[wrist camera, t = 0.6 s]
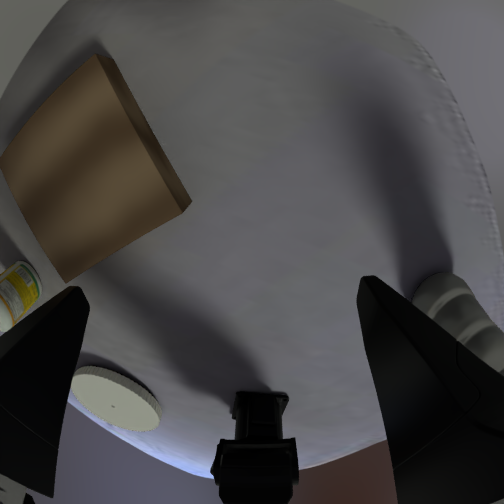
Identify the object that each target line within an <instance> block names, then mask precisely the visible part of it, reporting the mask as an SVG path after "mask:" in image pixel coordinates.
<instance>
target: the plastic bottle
mask: <svg viewBox="0 0 504 504" xmlns="http://www.w3.org/2000/svg"><path fill="white" fill-rule="evenodd" d="M412 304H413V305H415V306H416V307H417V308H419V309H420V310H421V311H422V312H424V313H425V314H426V315H427V316H429V317H430V318H431V319H432V320H434V321H435V322H436V323H437V324H439V325H440V326H441V327H442V328H444V329H445V330H446V331H447V332H448V333H450V334H451V335H452V336H453V337H454V338H456V340H457V341H459V342H461V343H462V344H463V345H464V346H465V347H467V348H468V349H469V350H470V351H471V352H473V353H474V354H475V355H476V356H478V357H479V358H480V359H481V360H483V361H484V362H485V363H487V364H488V365H489V366H491V367H492V368H493V369H495V370H496V371H497V372H499V373H500V374H502V375H503V376H504V333H503V332H502V330H501V329H500V328H498V327H497V325H496V324H495V323H494V322H493V321H492V320H491V319H490V317H489V316H488V315H487V313H486V312H485V310H484V309H483V308H482V306H481V305H480V304H479V302H478V301H477V300H476V298H475V296H474V294H473V292H472V290H471V289H470V288H469V286H468V285H467V283H466V282H465V281H464V280H463V279H462V278H460V277H458V276H457V275H455V274H453V273H450V272H443V273H437V274H434V275H432V276H430V277H429V278H427V279H426V280H425V281H424V282H422V284H421V285H420V286H419V287H418V289H417V290H416V292H415V294H414V296H413V300H412Z"/></svg>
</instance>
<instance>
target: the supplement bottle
mask: <svg viewBox="0 0 504 504" xmlns="http://www.w3.org/2000/svg"><path fill="white" fill-rule="evenodd" d="M41 293H42V286H41V282H40V279H39V276H38V275H37V273H36V271H35V270H34V269H33V268H32V267H31V266H30V265H29V264H28V263H26V262H24V261H17V262H15V263H14V264H13V265H11V266H10V267H9V268H8V269H6V270H5V271H4V272H3V273H2V274H0V331H2V332H6V331H8V330H9V329H11V328H12V327H13V326H14V325H15V324H16V323H17V321H18V320H19V319H20V318H21V317H22V316H23V315H24V314H25V313H26V311H27V310H28V309H29V308H30V307H31V306H32V305H33V304H34V303H35V302H36V301H37V299H38V298H39V297H40V296H41Z"/></svg>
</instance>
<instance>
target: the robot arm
mask: <svg viewBox="0 0 504 504" xmlns="http://www.w3.org/2000/svg"><path fill="white" fill-rule="evenodd" d="M357 309H358V314H359V319H360V324H361V330H362V336H363V342H364V347H365V351H366V355H367V359H368V362H369V366H370V369H371V373H372V377H373V381H374V384H375V388H376V392H377V396H378V400H379V405H380V409H381V413H382V417H383V422H384V426H385V431H386V436H387V440H388V445H389V451H390V455H391V461H392V467H393V469H394V470H393V473H394V480H395V486H396V492H397V500H398V504H504V376H503V375H502V374H500V373H499V372H497V371H496V370H495V369H493V368H492V367H491V366H489V365H488V364H487V363H485V362H484V361H483V360H481V359H480V358H479V357H478V356H476V355H475V354H474V353H473V352H471V351H470V350H469V349H468V348H467V347H465V346H464V345H463V344H462V343H461V342H459V341H457V340H456V338H454V337H453V336H452V335H451V334H450V333H448V332H447V331H446V330H445V329H444V328H442V327H441V326H440V325H439V324H437V323H436V322H435V321H434V320H432V319H431V318H430V317H429V316H427V315H426V314H425V313H424V312H422V311H421V310H420V309H419V308H417V307H416V306H415V305H413V304H412V303H411V302H410V301H408V300H407V299H406V298H404V297H403V296H402V295H400V294H399V293H398V292H396V291H395V290H394V289H393V288H391V287H390V286H389V285H387V284H386V283H385V282H383V281H382V280H380V279H379V278H378V277H376V276H374V275H371V276H363V277H362V278H361V280H360V284H359V289H358V294H357ZM89 311H90V306H89V303H88V301H87V299H86V297H85V295H84V293H83V291H82V289H81V288H80V287H79V286H69V287H67V288H66V289H64V290H63V291H61V292H60V293H59V294H57V295H56V296H54V297H53V298H51V299H50V300H49V301H47V302H46V303H44V304H43V305H42V306H40V307H39V308H37V309H36V310H35V311H33V312H32V313H31V314H29V315H28V316H27V317H25V318H24V319H22V320H21V321H20V322H19V323H17V324H16V325H15V326H13V327H12V328H11V329H9V330H8V331H7V332H5V333H4V334H3V335H2V336H0V504H35V502H34V500H33V498H32V496H30V495H29V494H27V493H26V489H27V488H29V489H31V490H33V491H36V492H38V493H40V494H43V495H45V496H47V497H50V498H53V496H54V484H55V473H56V464H57V456H58V448H59V441H60V435H61V430H62V424H63V419H64V414H65V409H66V404H67V400H68V396H69V391H70V387H71V383H72V379H73V376H74V372H75V368H76V365H77V361H78V358H79V354H80V350H81V347H82V342H83V338H84V333H85V328H86V324H87V320H88V316H89ZM288 401H289V397H288V396H286V395H272V394H260V393H249V392H237V393H236V397H235V403H234V408H233V413H232V419H234V420H236V427H235V440H225V439H220V443H219V444H218V445H217V451H216V456H215V459H214V462H213V464H212V467H211V470H210V473H211V474H212V475H213V476H214V479H215V483H216V485H218V486H219V497H220V498H221V500H222V502H223V503H224V504H288V503H289V502H290V500H291V498H292V496H293V489H292V488H293V486H292V485H298V482H299V467H298V457H297V448H296V440H295V438H291V439H283V431H282V415H283V412H284V410H285V408H286V406H287V403H288Z"/></svg>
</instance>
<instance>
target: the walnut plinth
mask: <svg viewBox="0 0 504 504" xmlns="http://www.w3.org/2000/svg"><path fill="white" fill-rule="evenodd" d="M0 168H1V170H2V172H3V175H4V177H5V179H6V181H7V184H8V186H9V188H10V190H11V192H12V194H13V196H14V198H15V200H16V202H17V204H18V206H19V208H20V210H21V212H22V214H23V216H24V218H25V219H26V221H27V223H28V225H29V227H30V228H31V230H32V232H33V234H34V235H35V237H36V239H37V240H38V242H39V244H40V245H41V247H42V249H43V250H44V252H45V253H46V255H47V257H48V258H49V260H50V261H51V263H52V264H53V266H54V267H55V269H56V270H57V272H58V273H59V275H60V276H61V278H62V279H63V280H64V282H65V283H68V282H69V281H71V280H72V279H74V278H75V277H77V276H78V275H80V274H81V273H83V272H84V271H86V270H87V269H89V268H91V267H92V266H94V265H95V264H97V263H98V262H100V261H102V260H103V259H105V258H106V257H108V256H110V255H111V254H113V253H115V252H116V251H118V250H119V249H121V248H123V247H124V246H126V245H128V244H129V243H131V242H133V241H134V240H136V239H138V238H140V237H141V236H143V235H145V234H146V233H148V232H150V231H152V230H153V229H155V228H157V227H159V226H160V225H162V224H164V223H166V222H168V221H169V220H171V219H173V218H175V217H177V216H178V215H180V214H182V213H183V212H184V211H185V210H186V208H187V207H188V206H189V205H190V204H191V202H192V200H191V199H190V197H189V195H188V193H187V192H186V190H185V188H184V186H183V185H182V183H181V181H180V180H179V178H178V176H177V174H176V173H175V171H174V169H173V167H172V165H171V164H170V162H169V160H168V158H167V157H166V155H165V153H164V151H163V150H162V148H161V146H160V144H159V142H158V141H157V139H156V137H155V135H154V133H153V132H152V130H151V128H150V126H149V124H148V123H147V121H146V119H145V117H144V115H143V113H142V112H141V110H140V108H139V106H138V104H137V102H136V101H135V99H134V97H133V95H132V93H131V91H130V89H129V88H128V86H127V84H126V82H125V80H124V78H123V76H122V74H121V73H120V71H119V69H118V67H117V65H116V63H115V61H114V60H113V59H110V58H107V57H104V56H101V55H98V54H94V55H93V56H92V57H91V58H90V59H88V60H87V61H86V62H85V63H84V64H83V65H81V66H80V67H79V68H78V69H77V70H76V71H75V72H74V73H73V74H72V75H70V76H69V77H68V78H67V79H66V80H65V81H64V82H63V83H62V84H61V85H60V86H59V87H58V88H57V89H56V90H55V91H54V92H53V93H52V94H51V95H50V96H49V97H48V98H47V100H46V101H45V102H44V103H43V104H42V105H41V106H40V107H39V108H38V109H37V111H36V112H35V113H34V114H33V115H32V116H31V118H30V119H29V120H28V121H27V122H26V124H25V125H24V126H23V127H22V129H21V130H20V131H19V132H18V134H17V135H16V136H15V138H14V139H13V140H12V142H11V143H10V144H9V146H8V147H7V149H6V150H5V151H4V153H3V154H2V156H1V157H0Z"/></svg>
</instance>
